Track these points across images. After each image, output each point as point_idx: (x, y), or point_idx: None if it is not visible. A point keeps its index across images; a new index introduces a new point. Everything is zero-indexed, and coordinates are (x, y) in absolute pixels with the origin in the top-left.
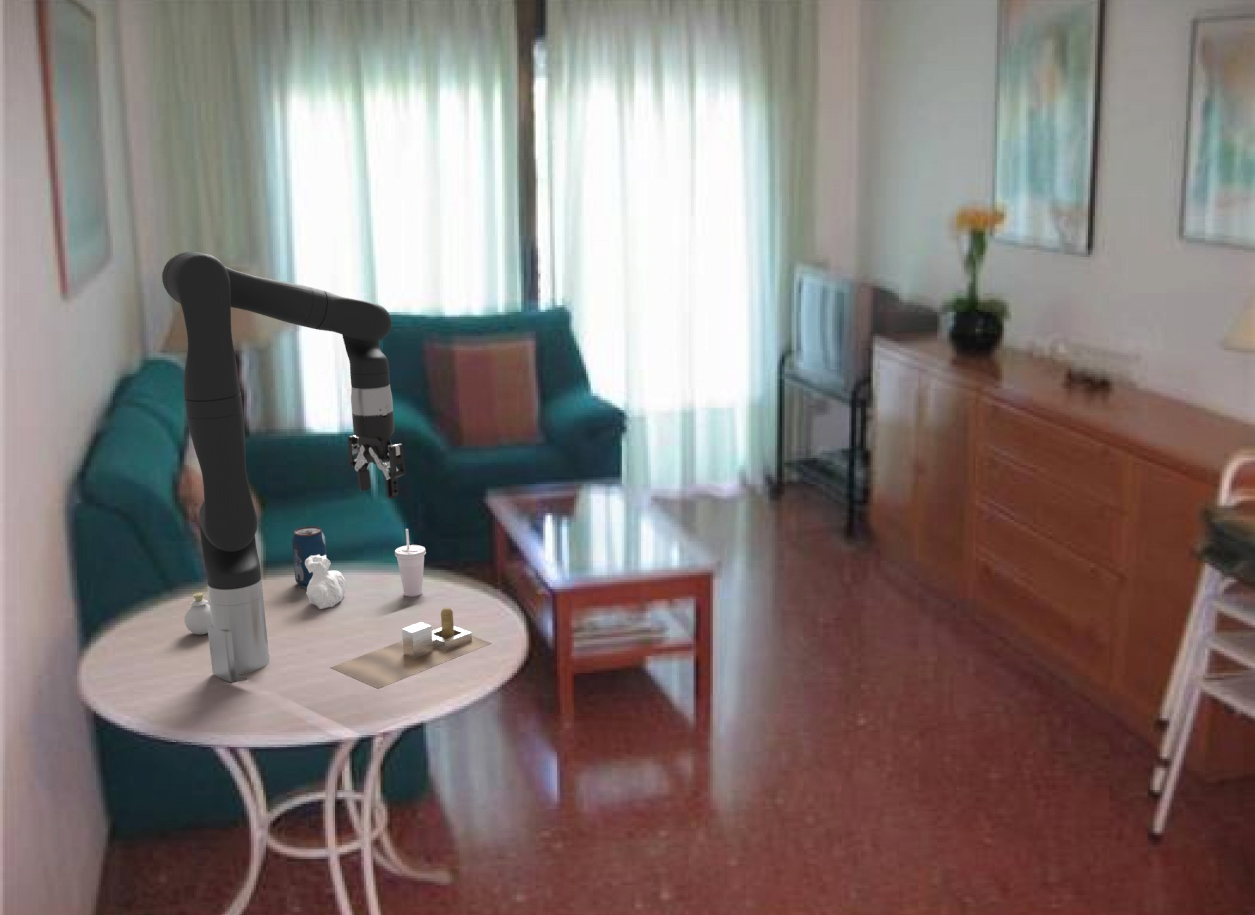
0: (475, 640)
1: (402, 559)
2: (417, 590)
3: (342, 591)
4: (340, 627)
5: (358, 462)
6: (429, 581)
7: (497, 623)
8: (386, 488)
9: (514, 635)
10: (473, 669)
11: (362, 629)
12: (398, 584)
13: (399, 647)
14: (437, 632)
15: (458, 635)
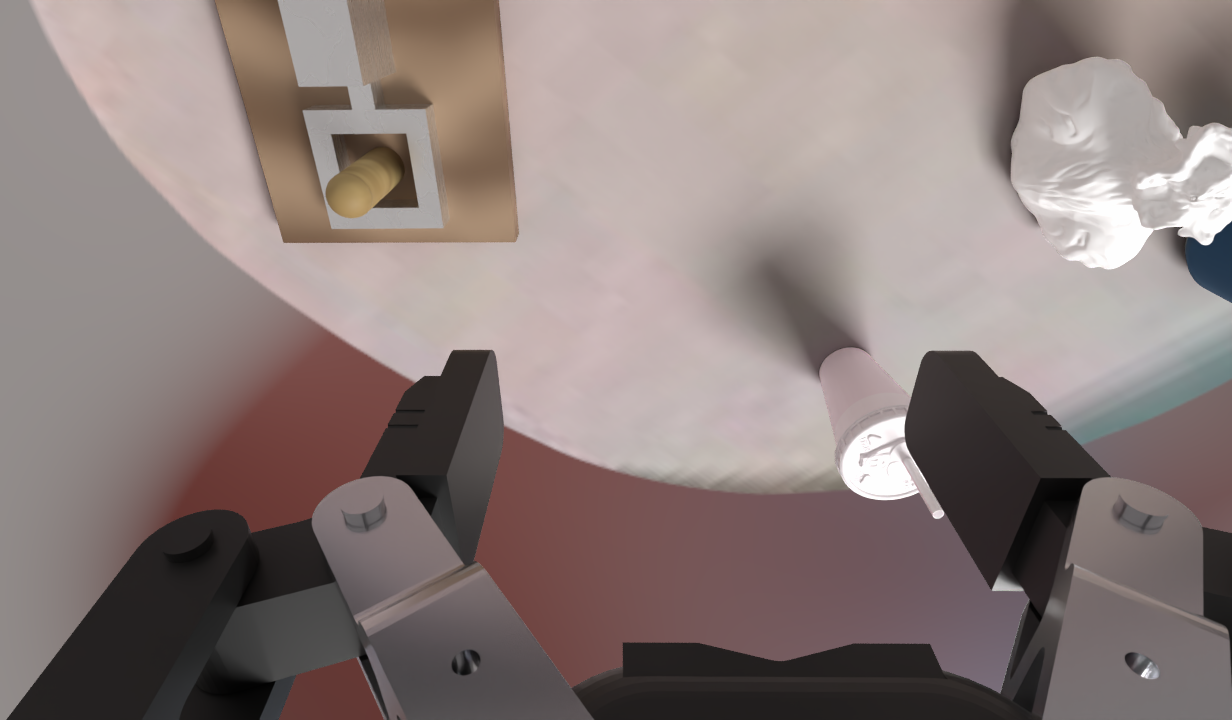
0: None
1: (884, 407)
2: (823, 375)
3: (1039, 217)
4: (840, 30)
5: (1118, 582)
6: None
7: None
8: (464, 402)
9: (357, 342)
10: (190, 99)
11: (755, 74)
12: None
13: (449, 9)
14: (411, 157)
15: None
